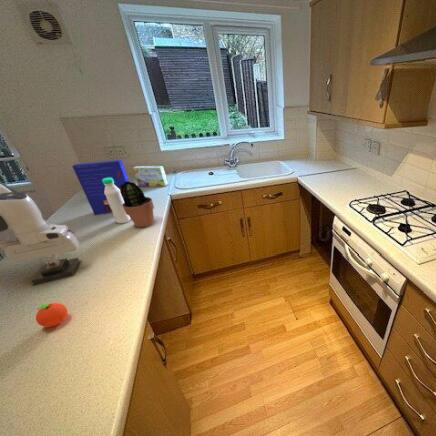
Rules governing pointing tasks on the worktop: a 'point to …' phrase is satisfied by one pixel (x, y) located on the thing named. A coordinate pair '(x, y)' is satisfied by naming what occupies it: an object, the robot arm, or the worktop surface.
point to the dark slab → (56, 271)
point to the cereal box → (99, 181)
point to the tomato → (51, 314)
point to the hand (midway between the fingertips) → (53, 264)
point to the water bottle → (115, 200)
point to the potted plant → (137, 205)
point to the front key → (53, 265)
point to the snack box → (150, 175)
